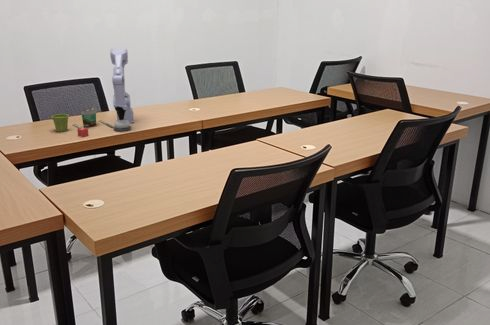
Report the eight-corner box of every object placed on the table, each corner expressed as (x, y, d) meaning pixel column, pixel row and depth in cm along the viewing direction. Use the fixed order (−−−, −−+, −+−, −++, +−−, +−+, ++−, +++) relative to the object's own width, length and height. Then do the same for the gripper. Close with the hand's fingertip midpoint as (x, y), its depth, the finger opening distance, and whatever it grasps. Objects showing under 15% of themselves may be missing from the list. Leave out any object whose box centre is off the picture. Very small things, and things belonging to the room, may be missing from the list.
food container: (92, 128, 288) (90, 111, 285) (82, 128, 289) (80, 111, 286) (102, 123, 300) (100, 107, 296) (92, 122, 301) (91, 106, 297)
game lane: (101, 120, 306) (101, 119, 305) (114, 127, 291) (114, 126, 290) (72, 125, 295) (72, 124, 295) (84, 132, 280) (84, 131, 280)
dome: (125, 124, 292) (125, 117, 291) (131, 127, 286) (130, 119, 285) (112, 126, 287) (112, 119, 286) (118, 129, 281) (117, 121, 280)
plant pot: (64, 133, 279) (63, 118, 276) (49, 132, 281) (47, 117, 278) (73, 128, 288) (72, 114, 285) (58, 127, 289) (57, 113, 287)
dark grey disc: (126, 126, 294) (126, 124, 293) (133, 129, 286) (133, 127, 286) (110, 128, 288) (110, 126, 288) (117, 132, 281) (117, 130, 280)
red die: (84, 134, 277) (83, 126, 275) (88, 135, 274) (87, 128, 273) (78, 135, 274) (77, 128, 272) (82, 137, 271) (81, 129, 270)
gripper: (107, 95, 284) (109, 118, 288) (118, 99, 273) (120, 123, 278) (119, 93, 288) (121, 116, 292) (130, 97, 277) (131, 121, 282)
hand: (121, 119), depth 285 cm, fingers closed, pressing on dome
